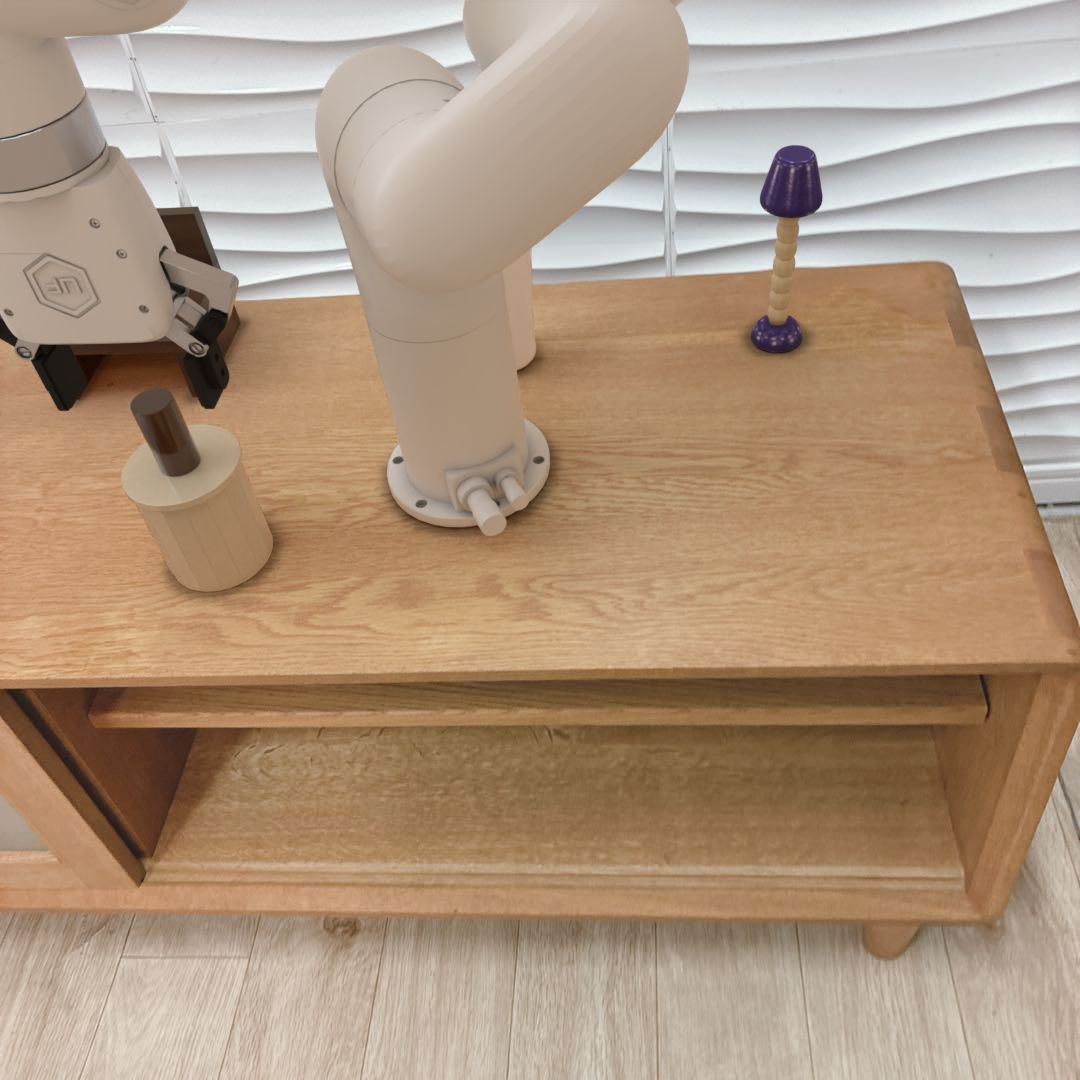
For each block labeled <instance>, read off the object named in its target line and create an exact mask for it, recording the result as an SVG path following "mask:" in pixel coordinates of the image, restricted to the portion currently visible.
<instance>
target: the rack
mask: <svg viewBox="0 0 1080 1080" xmlns="http://www.w3.org/2000/svg"><path fill="white" fill-rule="evenodd" d="M155 208H156V207H155ZM156 210H157V212H158V214H159V216H160V218H161V220H162V222H163V224H164V226H165V228H166V230H167V232H168V234H169V236H170V238H171V241H172V243H173V245H174V247H175V250H176V252H177V253H179V254H181V255H184V256H187V257H189V258H192V259H195V260H197V261H200V262H202V263H205V264H208V265H210V266H213V267H216V268H218V269H221V270H222V268H221V267H222V266H221V265H220V262H219V260H218V256H217V253H216V251H215V249H214V246H213V243H212V240H211V237H210V235H209V232H208V229H207V227H206V223H205V221H204V218H203V216H202V213H201V211H200V208H199V206H179V207H177V206H176V207H159V208H156ZM188 297H189V298H190V299H192V300H193V301H194V302H196V303H197V304H198V305H200V306H201V307H203V308H204V309H205V310H208V309H209V299H208V298H207V297H206V296H205V295H204V294H202V293H199V292H197V291H194V290H191V289H189V295H188ZM175 318H177V319H178V320H179V321H181V322H182V323H183V324H185V325H186V326H188V327H189V328H190V329H192V330H194V328H195V327H194V326H193V325H191V324H190V323H189V322H187V321H186V320H184V319H183V318H182V317H180V316H179V315H178V314H177V315H176V317H175ZM240 324H241V320H240V316H239V314H238V312H237V308H236V306H235V305H234V306H233V312H232V314H231V316H230V318H229V320H228V322H227V324H226V326H225V328H224V329H223V331H222V332H221V333H220V335H219V336H218V337H217V341H218V344H219V347H220V349H221V352H222V355H223V357H225V356H226V353H227V352H228V350H229V347H230V345H231V344H232V341H233V339H234V337H235V335H236V333H237V330H238V329H239V326H240ZM69 345H70V347H71V349H72V351H73V353H74V355H75V357H76V359H77V361H78V363H79V365H80V367H81V369H82V371H83V373H84V375H85V377H86V379H87V384H86V386H85V387H84V389H83V391H82V392H81V394H80V395H79V397H78V399H77V400H80V398H81V397H82V395H83V393H84V391H85V390H86V388H87V387H88V385H89V383H90V381H91V380H92V378H93V376H94V375H95V373H96V371H98V368H99V367H100V365H101V363H102V362H103V360H104V358H105V357H106V355H125V354H127V355H128V354H130V355H131V354H161V353H173V355H174V359H175V360H176V363H177V365H178V367H179V370H180V372H181V374H182V376H183V379H184V381H185V383H186V385H187V388H188V390H189V392H190V395H191V397H192V398H198V397H197V394H196V392H195V389H194V387H193V385H192V382H191V380H190V377H189V375H188V372H187V370H186V368H185V365H184V357H185V355H186V353H187V351H186V350H184V349H183V348H182V347H180V346H179V345H177V344H176V343H174V342H173V341H172V340H170V339H169V338H167V337H166V336H164V337H163V338H161V339H158V340H155V341H151V342H141V343H111V344H69Z"/></svg>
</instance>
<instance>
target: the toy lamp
mask: <svg viewBox="0 0 1080 1080" xmlns="http://www.w3.org/2000/svg"><path fill="white" fill-rule="evenodd" d="M760 191H761V192H760V195H759V203H760V204H759V205H760V206H761V208H762V209H763V210H764V211H765V212H767V213H768V214H769V215H772V216H774V217H777V218H778V222H777V225H776V228H775V229H776V230H775V232H776V239H775V243H774V253H775V256H774V258H773V261H772V270H773V273H772V275H771V279H770V286H771V289H770V292H769V297H768V301H769V303H770V304H769V306H768V308H767V314H765V315H763V316H762V317H760V318H759V319H758V320H757V321H756V323H755V324H754V325H753V327H752V330H751V332H750V339H751V342H752V343H753V344H754V345H755V346H756V347H757V348H759V349H760V350H761V351H764V352H768V353H769V352H770V353H786V352H791V351H792V350H794V349H796V348H797V347H799V346H800V345H801V343H802V341H803V332H802V328H801V326H800V324H799V322H798V320H796V319H795V318H794V317H792V316H791V315H789V314H790V308H789V305H790V302H791V299H792V292H791V289H792V287H793V284H794V274H793V273H794V271H795V269H796V258H795V256H796V254H797V251H798V240H797V238H798V237H799V233H800V224H799V221H800V219H801V218H805V217H808V216H810V215H813V214H815V213H816V212H817V211H818V210H819V209H820V208H821V206H822V204H823V190H822V182H821V175H820V168H819V164H818V157H817V155H816V153H815V151H814V150H813V149H812V148H811V147H807V146H805V145H799V144H790V145H786V146H783V147H781V148H779V149H778V150H777V151H776V153H775V154H774V156H773V159H772V161H771V164H770V167H769V168H768V172H767V174H766V177H765V180H764V183H763V185H762V188H761V190H760Z"/></svg>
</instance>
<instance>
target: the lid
mask: <svg viewBox="0 0 1080 1080" xmlns="http://www.w3.org/2000/svg"><path fill="white" fill-rule="evenodd" d="M129 410H130V411H131V414H132V415H133V417H134V420H135V421H136V423H137V426H138V429H139V430H140V431H141V433H142V436H143V438H144V440H145V441H144V442H143V443H142V444H141V445H139V446H138V447H137V448H136V449H135V450H134V451H133V452H132V454H130V456H129V457H128V458H127V460H126V461H125V463H124V465H123V467H122V471H121V474H120V483H121V487H122V490H123V492H124V494H125V496H126V497H127V498H128V501H129V500H130V502H131V503H132V504H134V505H135V506H136V505H137V506H139V507H141V508H143V509H147V510H151V511H159V512H169V511H177V510H182V509H187V508H190V507H193V506H196V505H198V504H201V503H203V502H205V501H207V500H209V499H211V498H213V497H214V496H216V495H217V494H219V493H220V492H221V491H223V490H224V489H225V488H226V487H227V486H228V485H229V484H230V483H231V482H232V481H233V480H234V478H235V477H236V476H237V474H238V472H239V470H240V468H241V465H242V463H243V459H244V458H243V455H244V454H243V451H242V447H241V444H240V443H239V441H238V439H237V437H236V436H235V435H234V434H233V433H232V432H231V431H229V430H227V429H226V428H223V427H220V426H218V425H214V424H206V423H205V424H204V423H203V424H202V423H198V424H197V423H195V424H187V423H186V420H185V418H184V416H183V413H182V411H181V408H180V406H179V405H178V402H177V400H176V398H175V396H174V394H173V392H172V390H170V389H168V388H166V387H163V386H162V387H161V386H160V387H151V388H148V389H145V390H143V391H141V392H140V393H138V394H137V395H135V396H134V397H133V398H132V400H131V401H130V404H129ZM137 506H136V507H137Z"/></svg>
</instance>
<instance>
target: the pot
mask: <svg viewBox="0 0 1080 1080" xmlns="http://www.w3.org/2000/svg"><path fill="white" fill-rule="evenodd" d="M135 507H136V509H137V510H138V512H139V514H140V516H141V518H142V520H143V521H144V524H145V525H146V527H147V529H148V531H149V533H150V535H151V536H152V538H153V540H154V543H155V544H156V546H157V548H158V550H159V552H160V553H161V556H162V557H163V559H164V561H165V563H166V565H167V567H168V569H169V570H170V572H171V574H172V575H173V576H174V579H176V580H177V582H178V583H179V584H181V585H182V586H184V587H186V588H187V589H190V590H193V591H197V592H201V593H203V592H204V593H211V592H212V593H213V592H221V591H224V590H228V589H231V588H232V589H233V588H234V587H237V586H239V585H241V584H243V583H245V582H247V581H248V580H250V579H251V578H253V577H254V576H255V575H256V574H258V573H259V572H260V571H261V570H262V569H263V568H264V567H265V565H266V564H267V562H268V561H269V559H270V557H271V555H272V552H273V549H274V537H273V534H272V531H271V530H270V526H269V523H268V521H267V519H266V516H265V514H264V512H263V509H262V507H261V504H260V502H259V499H258V497H257V494H256V492H255V490H254V487H253V484H252V482H251V480H250V478H249V475H248V472H247V470H246V468H245V465H244V463H243V462H242V465H241V468H240V470H239V472H238V474H237V476H236V477H235V478H234V480H233V481H232V482H231V483H230V484H229V485H228V486H227V487H226V488H225V489H224V490H223V491H221V492H220V493H219V494H217V495H216V496H214V497H213V498H211V499H209V500H207V501H205V502H203V503H201V504H198V505H196V506H193V507H190V508H187V509H182V510H177V511H169V512H159V511H151V510H147V509H143V508H141V507H139V506H137V505H135Z"/></svg>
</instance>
